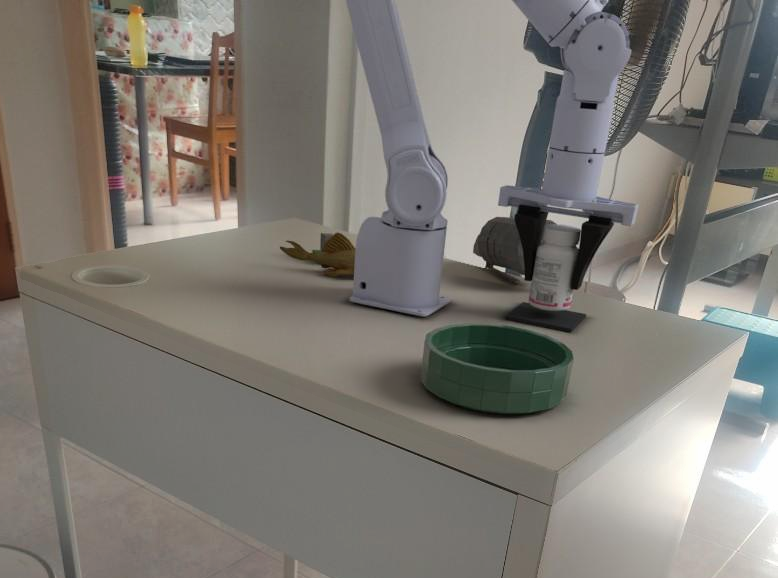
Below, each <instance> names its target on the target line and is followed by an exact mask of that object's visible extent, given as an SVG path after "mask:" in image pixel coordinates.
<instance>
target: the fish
mask: <svg viewBox="0 0 778 578" xmlns="http://www.w3.org/2000/svg"><path fill="white" fill-rule="evenodd" d="M285 242H286V243H288V244H290V245H292V246H293V247H285V246H279V249H280V250H281V251H282V252H283V253H284V254H285V255H287V256H289V257H290V258H292V259H295V260H299V261H309V262H313V263H316V264H317V263H318V264H320V267H321V269H325V270H323V276H328V277H333V278H336V277H341V276H354V267H355V250H356V246H354V244H353V243H352V242H351V240H350V239H349V238H348V237H347V236H346V235H344V234H343V233H341V232H334V233H333V236H332V237H331V238H329V239H328V240H327V241H326V243H325V245H324V247H323V248H324V249H323V250H322V252H329V253H316V252H315V251H313V250H314V249H311V251H312V252H309V251H307V250H306V249H305V248H304V247H303V246H301V244H299V243H298V242H295V241H293V240H285Z"/></svg>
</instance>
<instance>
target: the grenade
mask: <svg viewBox="0 0 778 578" xmlns="http://www.w3.org/2000/svg"><path fill="white" fill-rule="evenodd" d="M549 224H557V223H556V222H555V221H554V220H551V219H547V220H546V223H545V225H549ZM476 236H477V237H476V239H475V241H474V244H473V248H472V254H474V255H475V256H478V257H479V258H482V260H483V261H484V262H485V266H486V269H487V270H489V271H492V272H494V273H495V274H497V275H500V276H502V277H504V278H506V279H507V280H510V281H511V282H512V283H513V284H514V285H521V283H522V281H521V279H518V278H516V277H514V276H512V275H510V274H508V273H506V272H504V271H501V270H499V269H498V268H496V267H500V268H504V269H508V270H511V271H514V272H517V273H518V274H520V275H521V276H525V270H524V257H523V250H522V245H521V240H520V236H519V233H518V230H517V227H516V224H515V217H507V216H495V217H494V218H490V219H489V220H487V222H486V223H485V224H484V225H483V226H482V227H481V230H480V232H479V233H478V235H476ZM543 242H544V241H543V240H541V243H543Z"/></svg>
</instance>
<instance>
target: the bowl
mask: <svg viewBox="0 0 778 578" xmlns="http://www.w3.org/2000/svg"><path fill="white" fill-rule="evenodd" d="M574 360H575V357H574V353H573V350H571V349H570V348H569V347H568V346H567V345H566V344H565V343H564V342H562V341H559V340H558V339H555V338H553V337H552V336H549V335H546V334H543V333H540V332H537V331H534V330H530V329H525V328H520V327H516V326H511V325H504V324H493V323H471V322H469V323H455V324H447V325H444V326H441V327H437V328H433V329H432V330H431V331H429V332H428V333H426V335H425V338H424V343H423V351H422V361H421V371H420V381H421V383H422V384H423V387H424V388H425V389H426V390H427V391H429V392H431V394H433V395H435V396H436V397H438V398H440V399H443V400H445V401H446V402H448V403H450V404H453V405H456V406H458V407H462V408H464V409H467V410H472V411H478V412H482V413H489V414H499V415H523V414H524V415H525V414H531V413H535V412H536V413H537V412H541V411H547V410H550V409H552V408H555V407H557V406H559V405H561V404H562V403H563V402H564V400H565V399H566V397H567V394H568V389H569V384H570V379H571V375H572V370H573V364H574Z"/></svg>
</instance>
